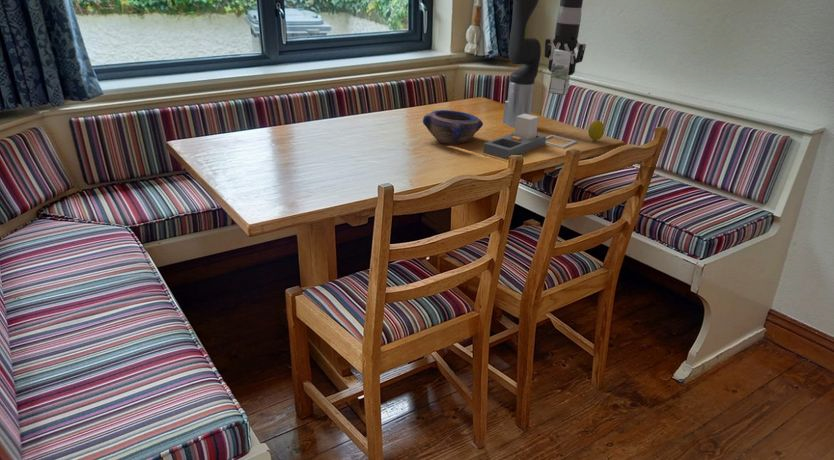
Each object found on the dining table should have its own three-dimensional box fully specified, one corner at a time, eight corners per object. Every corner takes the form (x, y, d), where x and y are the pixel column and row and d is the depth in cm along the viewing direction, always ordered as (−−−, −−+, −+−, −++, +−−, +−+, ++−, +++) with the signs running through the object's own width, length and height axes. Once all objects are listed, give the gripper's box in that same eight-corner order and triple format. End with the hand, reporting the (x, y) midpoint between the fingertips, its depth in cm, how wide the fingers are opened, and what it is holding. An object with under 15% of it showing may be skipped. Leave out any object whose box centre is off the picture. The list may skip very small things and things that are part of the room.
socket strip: (482, 154, 206) (484, 140, 204) (520, 140, 223) (522, 127, 221) (507, 162, 200) (509, 148, 198) (544, 147, 217) (546, 133, 215)
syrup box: (568, 92, 212) (574, 49, 206) (564, 95, 207) (571, 51, 201) (551, 90, 214) (557, 47, 208) (547, 93, 209) (553, 49, 203)
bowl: (487, 142, 218) (490, 115, 214) (455, 152, 206) (457, 123, 202) (449, 131, 229) (451, 104, 225) (416, 140, 217) (417, 112, 213)
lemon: (602, 144, 224) (606, 122, 220) (587, 142, 225) (590, 121, 221) (601, 139, 229) (605, 118, 225) (586, 138, 230) (590, 117, 226)
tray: (537, 144, 220) (537, 140, 219) (551, 138, 227) (551, 134, 226) (562, 150, 214) (563, 146, 213) (576, 145, 221) (576, 141, 220)
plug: (513, 144, 215) (516, 116, 210) (521, 141, 219) (524, 113, 214) (526, 147, 212) (530, 119, 207) (534, 144, 216) (538, 116, 211)
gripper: (543, 19, 202) (536, 71, 209) (583, 25, 194) (575, 78, 201) (554, 18, 207) (547, 68, 214) (593, 23, 199) (585, 75, 206)
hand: (560, 73), depth 207 cm, fingers closed on syrup box, 6 cm apart
